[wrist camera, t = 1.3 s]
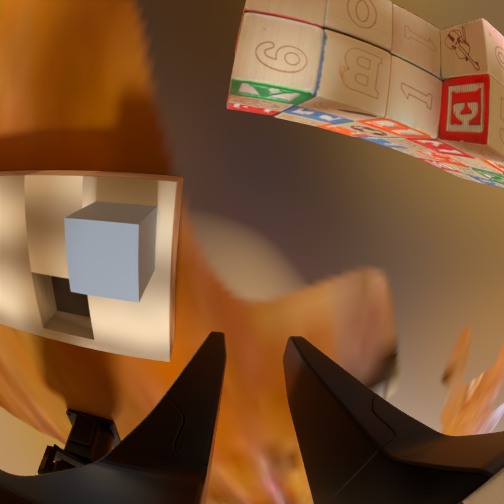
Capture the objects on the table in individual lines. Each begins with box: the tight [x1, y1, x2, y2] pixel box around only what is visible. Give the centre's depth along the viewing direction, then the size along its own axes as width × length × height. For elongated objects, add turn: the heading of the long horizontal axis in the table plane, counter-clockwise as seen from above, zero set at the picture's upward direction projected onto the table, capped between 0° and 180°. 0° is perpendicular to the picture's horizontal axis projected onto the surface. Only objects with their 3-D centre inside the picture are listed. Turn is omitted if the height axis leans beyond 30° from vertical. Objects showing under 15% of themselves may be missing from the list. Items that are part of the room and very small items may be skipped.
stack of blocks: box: [227, 0, 504, 189], centre depth 12 cm, size 21×6×12 cm, turn 81°
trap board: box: [0, 170, 184, 362], centre depth 16 cm, size 13×30×4 cm, turn 81°
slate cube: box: [64, 201, 158, 303], centre depth 14 cm, size 4×4×4 cm
